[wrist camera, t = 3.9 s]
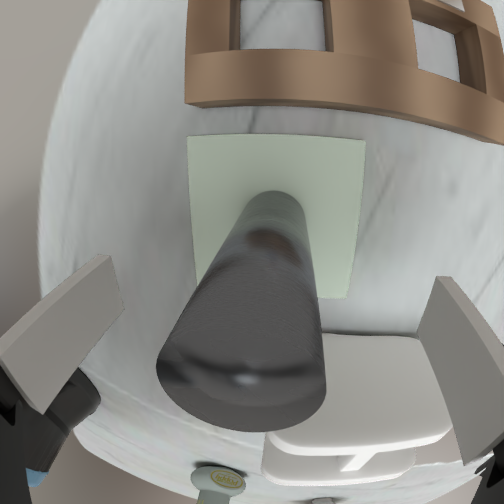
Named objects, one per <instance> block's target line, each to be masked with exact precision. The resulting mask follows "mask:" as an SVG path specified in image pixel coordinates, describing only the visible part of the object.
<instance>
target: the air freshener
mask: <svg viewBox="0 0 504 504" xmlns="http://www.w3.org/2000/svg"><path fill="white" fill-rule="evenodd" d="M191 482H192V483H193V485H194V486H195V487H196V488H197V489H198V490H200V493H199V497H198V501H197V504H229V501H230V497H233V496H236V495H239V494H241V493H242V492H243V491H244V490H245V487H246V483H245V481H244V479H243V478H242V477H241V476H240V475H239V474H237V473H236V472H234V471H233V470H231V469H229V468H226V467H220V466H205V467H200V468H198V469H196V470H194V471H193V472H192V474H191Z"/></svg>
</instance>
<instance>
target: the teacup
mask: <svg viewBox="0 0 504 504" xmlns="http://www.w3.org/2000/svg"><path fill="white" fill-rule="evenodd" d="M312 504H335V503H333V502H332V498H319V499H314V500H312Z"/></svg>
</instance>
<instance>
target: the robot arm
mask: <svg viewBox="0 0 504 504" xmlns="http://www.w3.org/2000/svg"><path fill="white" fill-rule="evenodd" d="M123 311H124V306H123V302H122V299H121V295H120V291H119V287H118V284H117V280H116V276H115V271H114V267H113V263H112V258H111V256H108V255H97V256H95V257H94V258H93V259H91V260H90V261H89V262H87V263H86V264H85V265H84V266H82V267H81V268H80V269H78V270H77V271H76V272H75V273H73V274H72V275H71V276H69V277H68V278H67V279H66V280H65V281H63V282H62V283H61V284H60V285H58V286H57V287H56V288H55V289H54V290H52V291H51V292H50V293H49V294H48V295H46V296H45V297H44V298H43V299H42V300H41V301H39V302H38V303H37V304H36V305H35V306H34V307H33V308H31V309H30V310H29V311H28V312H27V313H26V314H25V315H24V316H23V317H22V318H20V319H19V320H18V321H17V322H16V323H15V324H14V325H13V326H12V327H11V328H10V329H9V330H8V331H7V332H6V333H5V334H4V335H3V336H2V337H1V338H0V504H32V502H31V497H30V492H29V486H31V487H36V486H39V485H40V483H41V482H42V480H43V479H44V478H45V476H46V475H47V474H48V473H49V469H50V467H51V465H52V463H53V462H54V460H55V458H56V456H57V454H58V453H59V451H60V449H61V447H62V445H63V444H64V442H65V440H66V438H67V437H68V435H69V433H70V432H71V430H72V429H73V428H74V427H75V426H77V425H78V424H79V423H80V422H82V421H83V420H84V419H85V418H86V417H88V416H89V415H91V414H93V413H94V412H95V411H96V409H97V407H98V406H99V404H100V397H99V394H98V392H97V390H96V389H95V387H94V386H93V385H92V383H91V382H90V381H89V380H88V378H87V377H86V376H85V375H84V374H83V373H82V372H81V371H80V370H79V369H78V368H77V367H78V366H79V365H80V364H81V362H82V361H83V360H84V358H85V357H86V356H87V355H88V353H89V352H90V351H91V349H92V348H93V347H94V346H95V344H96V343H97V342H98V341H99V340H100V338H101V337H102V336H103V335H104V333H105V332H106V331H107V330H108V329H109V327H110V326H111V325H112V324H113V322H114V321H115V320H116V319H117V318H118V317H119V315H120V314H121V313H122V312H123ZM417 335H418V337H419V339H420V341H421V343H422V346H423V348H424V350H425V352H426V355H427V357H428V359H429V362H430V364H431V367H432V369H433V371H434V374H435V376H436V379H437V382H438V384H439V387H440V389H441V392H442V395H443V398H444V400H445V403H446V406H447V409H448V412H449V415H450V418H451V421H452V424H453V427H454V431H455V434H456V438H457V441H458V445H459V449H460V453H461V457H462V461H463V465H464V466H466V465H468V464H471V463H473V462H476V461H478V460H481V459H482V458H483V457H484V456H486V455H487V454H488V453H489V452H490V451H492V450H493V452H494V455H493V456H492V457H491V458H490V459H488V460H487V461H486V462H485V463H483V464H482V465H481V466H480V467H478V468H477V470H476V471H475V473H474V474H477V473H479V472H480V471H482V470H483V469H484V468H486V469H485V470H484V471H483V472H482V473H481V474H480V476H482V480H481V482H480V485H479V487H478V489H477V492H476V494H475V496H474V498H473V500H472V502H471V504H504V345H503V344H502V343H501V342H500V340H499V339H498V337H497V336H496V334H495V333H494V332H493V330H492V329H491V327H490V326H489V324H488V323H487V322H486V320H485V319H484V318H483V316H482V315H481V314H480V312H479V311H478V310H477V308H476V307H475V306H474V304H473V303H472V302H471V301H470V299H469V298H468V297H467V295H466V294H465V293H464V292H463V291H462V289H461V288H460V287H459V286H458V285H457V283H456V282H455V281H454V280H453V279H452V277H446V276H436V279H435V282H434V285H433V288H432V291H431V294H430V297H429V300H428V303H427V306H426V309H425V311H424V314H423V317H422V319H421V322H420V324H419V327H418V329H417Z"/></svg>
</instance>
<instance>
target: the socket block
mask: <svg viewBox="0 0 504 504" xmlns="http://www.w3.org/2000/svg"><path fill="white" fill-rule="evenodd" d="M319 1H322V3H323V15H324V29H325V46H326V51H315V50H299V49H248V50H240V0H188V12H187V28H186V49H185V104H189V105H193V106H196V107H200V108H213V107H230V106H297V107H314V108H327V109H337V110H346V111H355V112H362V113H369V114H375V115H381V116H387V117H393V118H398V119H403V120H408V121H412V122H417V123H421V124H425V125H429V126H433V127H437V128H441V129H444V130H448V131H451V132H455V133H458V134H461V135H465V136H468V137H471V138H474V139H477V140H479V141H482V142H487V143H493V144H499V145H504V54H503V48H502V44H501V39H500V35H499V31H498V27H497V23H496V19H495V16H494V13H493V9H492V7H491V6H489V5H487V4H486V3H484V2H482V1H481V0H319ZM412 19H414V20H417V21H420V22H423V23H426V24H429V25H432V26H434V27H437V28H440V29H442V30H445V31H447V32H450V33H452V34H454V36H455V42H456V48H457V55H458V63H459V73H460V83H459V82H456V81H454V80H451V79H448V78H445V77H443V76H440V75H437V74H434V73H430V72H427V71H424V70H421V69H418V62H417V51H416V43H415V35H414V28H413V22H412Z"/></svg>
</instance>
